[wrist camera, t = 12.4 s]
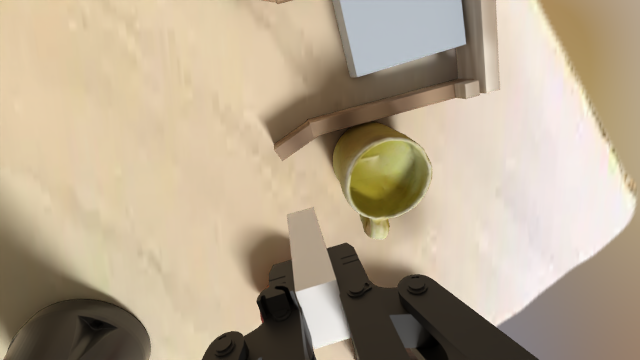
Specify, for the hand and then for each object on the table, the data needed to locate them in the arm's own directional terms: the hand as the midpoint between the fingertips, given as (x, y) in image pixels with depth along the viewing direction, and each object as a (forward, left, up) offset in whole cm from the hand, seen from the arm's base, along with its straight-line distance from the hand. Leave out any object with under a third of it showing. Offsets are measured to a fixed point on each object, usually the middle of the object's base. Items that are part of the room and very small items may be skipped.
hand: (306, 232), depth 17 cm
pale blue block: (+15, +10, -21) cm, 28 cm away
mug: (+8, -5, -21) cm, 23 cm away
